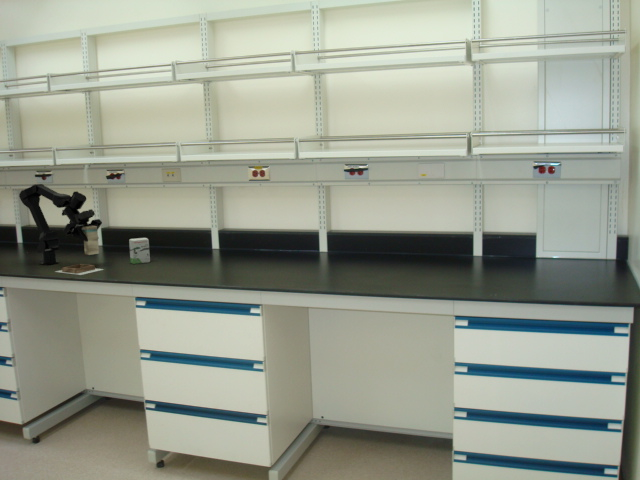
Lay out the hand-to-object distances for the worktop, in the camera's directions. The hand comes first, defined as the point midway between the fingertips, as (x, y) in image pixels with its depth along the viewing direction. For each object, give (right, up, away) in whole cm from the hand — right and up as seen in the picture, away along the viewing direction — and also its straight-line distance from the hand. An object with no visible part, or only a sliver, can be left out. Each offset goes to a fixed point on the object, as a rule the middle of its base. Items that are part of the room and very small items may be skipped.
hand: (92, 240), depth 274 cm
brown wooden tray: (-5, -14, -4) cm, 16 cm away
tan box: (-1, -6, +2) cm, 7 cm away
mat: (-5, -14, -4) cm, 16 cm away
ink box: (+18, -11, +14) cm, 26 cm away
